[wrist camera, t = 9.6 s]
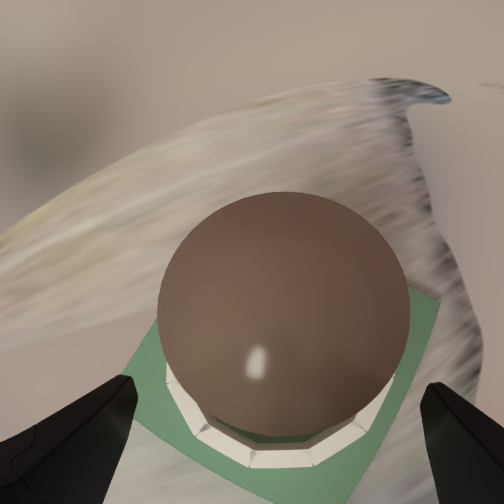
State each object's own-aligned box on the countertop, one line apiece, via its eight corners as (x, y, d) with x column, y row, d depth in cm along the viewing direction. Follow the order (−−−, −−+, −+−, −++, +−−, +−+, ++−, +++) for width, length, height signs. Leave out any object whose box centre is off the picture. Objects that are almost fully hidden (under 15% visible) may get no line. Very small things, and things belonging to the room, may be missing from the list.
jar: (344, 378, 17) (459, 346, 5) (261, 423, 17) (222, 487, 5) (299, 300, 19) (325, 154, 8) (219, 342, 19) (120, 253, 7)
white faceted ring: (407, 316, 18) (422, 306, 16) (318, 489, 14) (323, 501, 12) (244, 236, 22) (240, 217, 19) (145, 391, 18) (128, 390, 15)
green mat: (437, 305, 19) (440, 302, 19) (327, 521, 14) (328, 524, 13) (235, 207, 23) (234, 202, 23) (111, 397, 18) (107, 397, 18)
